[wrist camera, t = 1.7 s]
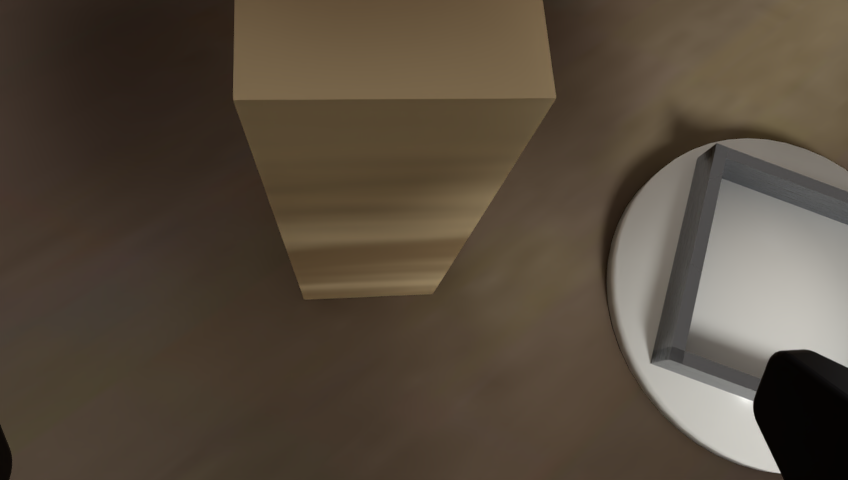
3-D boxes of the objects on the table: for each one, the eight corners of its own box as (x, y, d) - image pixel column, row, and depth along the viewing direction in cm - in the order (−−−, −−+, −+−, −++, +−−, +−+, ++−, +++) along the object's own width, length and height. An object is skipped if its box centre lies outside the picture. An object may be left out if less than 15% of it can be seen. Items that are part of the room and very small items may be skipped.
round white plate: (902, 524, 20) (924, 529, 19) (569, 402, 19) (578, 401, 19) (932, 210, 23) (952, 203, 22) (647, 105, 23) (657, 94, 22)
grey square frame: (873, 445, 19) (906, 446, 18) (649, 363, 19) (669, 359, 18) (897, 232, 22) (928, 221, 20) (697, 158, 21) (716, 143, 20)
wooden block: (432, 293, 20) (555, 98, 8) (303, 299, 19) (232, 99, 8) (424, 176, 21) (522, -150, 9) (302, 178, 21) (237, -163, 9)
